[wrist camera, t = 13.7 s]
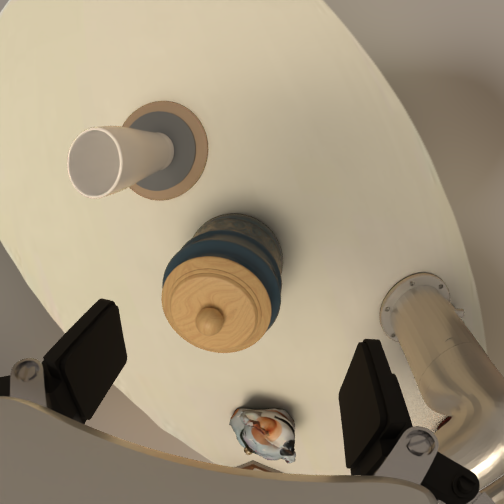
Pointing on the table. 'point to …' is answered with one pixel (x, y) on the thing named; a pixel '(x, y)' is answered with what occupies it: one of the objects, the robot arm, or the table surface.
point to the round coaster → (185, 148)
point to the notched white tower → (257, 467)
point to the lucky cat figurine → (265, 433)
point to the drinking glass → (116, 158)
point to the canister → (224, 284)
